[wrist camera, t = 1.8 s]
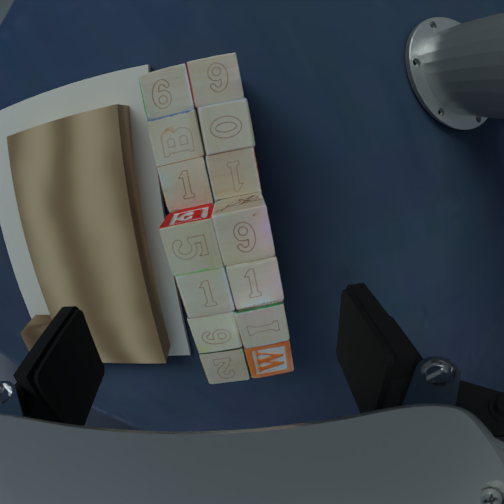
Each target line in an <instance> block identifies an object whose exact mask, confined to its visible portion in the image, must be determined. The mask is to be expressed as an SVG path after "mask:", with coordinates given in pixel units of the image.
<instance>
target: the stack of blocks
mask: <svg viewBox="0 0 504 504" xmlns="http://www.w3.org/2000/svg"><path fill="white" fill-rule="evenodd" d="M139 83H140V88H141V94H142V98H143V104H144V109H145V112H146V116H147V119H148V121H147V126H148V131H149V135H150V140H151V144H152V148H153V153H154V157H155V161H156V165H157V170H158V175H159V179H160V183H161V187H162V191H163V194H164V198H165V202H166V205H167V208H168V210H169V212H170V213H169V214H168V215H167V216H166V218H165V220H164V221H163V222H162V224H161V226H160V227H159V232H160V235H161V239H162V242H163V245H164V248H165V251H166V255H167V258H168V261H169V265H170V268H171V271H172V274H173V275H174V276H175V279H176V282H177V286H178V289H179V292H180V295H181V298H182V301H183V304H184V307H185V310H186V313H187V315H188V316H187V321H188V324H189V327H190V329H191V332H192V335H193V338H194V341H195V344H196V346H197V349H198V352H199V353H200V359H201V362H202V365H203V368H204V370H205V373H206V376H207V379H208V381H209V383H210V384H217V383H225V382H233V381H241V380H248V379H250V377H252V378H260V377H265V376H271V375H276V374H281V373H286V372H291V371H293V370H294V366H293V360H292V354H291V347H290V341H289V339H290V336H289V331H288V325H287V319H286V314H285V309H284V304H283V299H284V294H283V288H282V283H281V277H280V272H279V266H278V261H277V258H276V254H275V247H274V242H273V237H272V232H271V226H270V221H269V216H268V211H267V206H266V203H265V201H264V198H263V195H262V189H261V184H260V178H259V172H258V167H257V161H256V155H255V149H254V147H255V139H254V133H253V127H252V122H251V116H250V111H249V106H248V101H247V99H246V98H245V97H244V92H243V87H242V81H241V76H240V71H239V66H238V61H237V55H236V53H229V54H223V55H218V56H213V57H208V58H203V59H198V60H194V61H189V62H187V63H185V64H180V65H176V66H171V67H168V68H164V69H160V70H157V71H153V72H150V73H146V74H143V75H140V76H139Z"/></svg>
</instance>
